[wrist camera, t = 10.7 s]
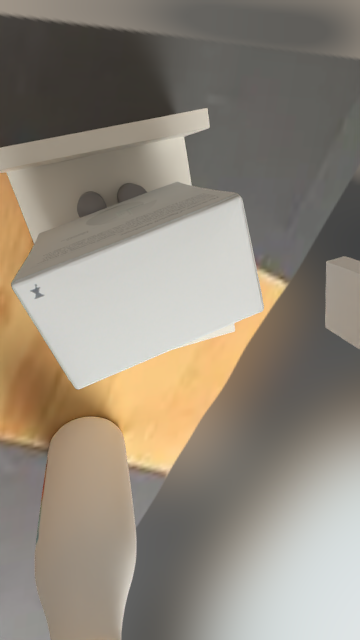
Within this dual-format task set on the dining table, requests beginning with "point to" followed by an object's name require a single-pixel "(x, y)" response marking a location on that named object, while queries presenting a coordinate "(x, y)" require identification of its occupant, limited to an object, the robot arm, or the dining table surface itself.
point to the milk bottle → (85, 532)
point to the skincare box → (140, 279)
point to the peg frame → (100, 170)
